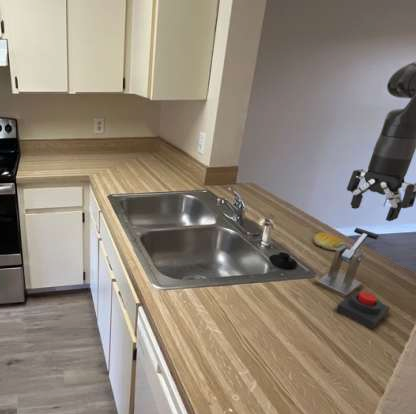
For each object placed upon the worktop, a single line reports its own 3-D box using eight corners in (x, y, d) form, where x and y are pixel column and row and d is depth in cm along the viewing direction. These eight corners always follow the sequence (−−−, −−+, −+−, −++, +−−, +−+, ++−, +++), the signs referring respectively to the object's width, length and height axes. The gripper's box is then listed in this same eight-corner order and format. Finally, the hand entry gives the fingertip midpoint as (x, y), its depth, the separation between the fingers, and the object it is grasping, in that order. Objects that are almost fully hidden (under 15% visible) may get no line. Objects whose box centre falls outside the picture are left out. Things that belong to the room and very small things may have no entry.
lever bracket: (331, 272, 104) (342, 240, 99) (360, 285, 98) (373, 251, 93) (315, 283, 99) (326, 249, 94) (345, 298, 93) (358, 262, 88)
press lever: (356, 230, 100) (357, 225, 99) (378, 238, 96) (379, 232, 95) (334, 257, 97) (334, 252, 96) (356, 266, 93) (356, 261, 91)
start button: (360, 295, 89) (363, 290, 88) (377, 302, 86) (379, 297, 85) (355, 300, 87) (357, 294, 86) (371, 308, 84) (373, 302, 83)
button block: (352, 297, 93) (357, 285, 92) (387, 313, 87) (392, 301, 86) (336, 310, 88) (340, 298, 87) (371, 329, 82) (377, 316, 80)
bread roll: (322, 237, 125) (325, 228, 124) (346, 248, 118) (350, 238, 116) (307, 241, 123) (309, 231, 121) (330, 253, 115) (333, 243, 113)
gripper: (437, 159, 76) (412, 222, 83) (371, 146, 88) (353, 202, 95) (417, 162, 74) (392, 227, 80) (352, 149, 86) (335, 206, 93)
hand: (371, 213), depth 88 cm, fingers open, 8 cm apart
